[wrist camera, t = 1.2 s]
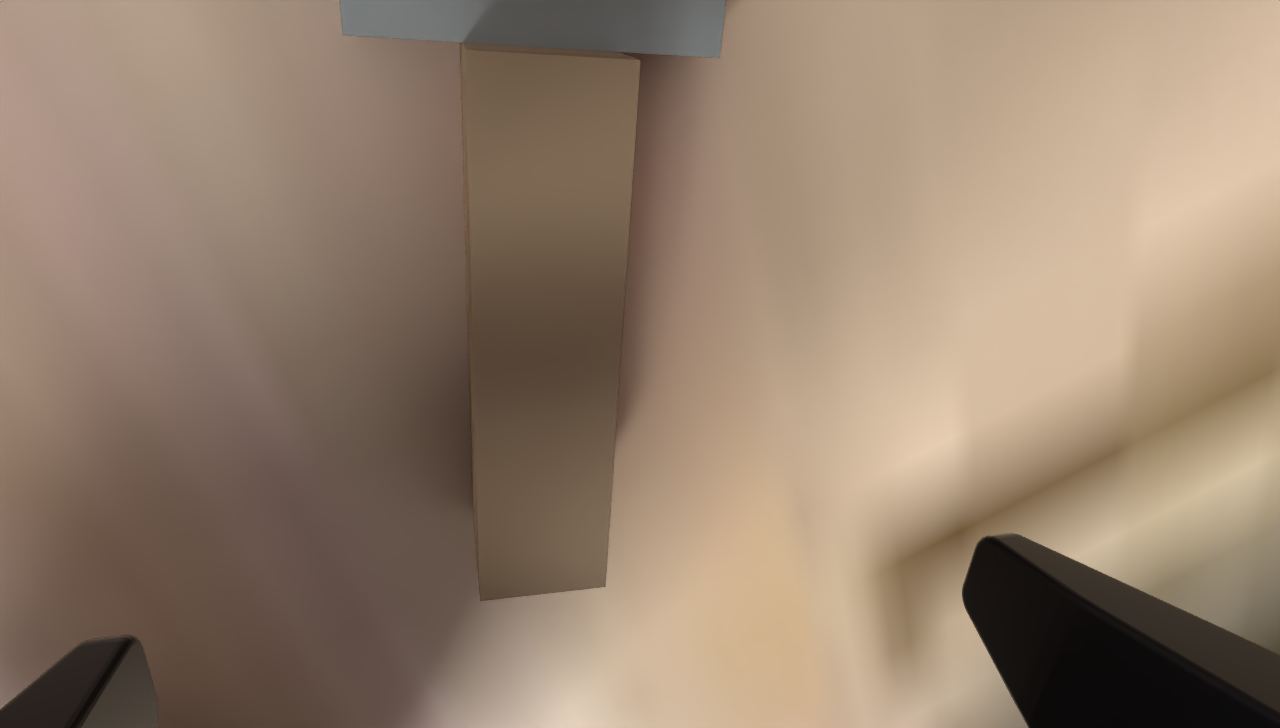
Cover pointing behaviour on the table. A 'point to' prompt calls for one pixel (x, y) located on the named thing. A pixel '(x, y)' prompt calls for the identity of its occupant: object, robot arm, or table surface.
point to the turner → (545, 256)
